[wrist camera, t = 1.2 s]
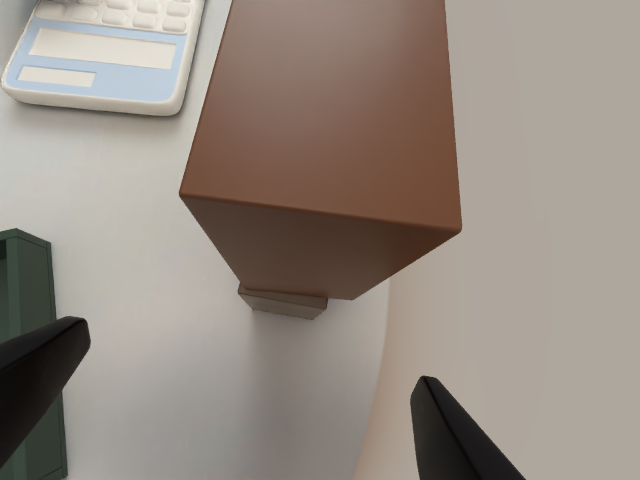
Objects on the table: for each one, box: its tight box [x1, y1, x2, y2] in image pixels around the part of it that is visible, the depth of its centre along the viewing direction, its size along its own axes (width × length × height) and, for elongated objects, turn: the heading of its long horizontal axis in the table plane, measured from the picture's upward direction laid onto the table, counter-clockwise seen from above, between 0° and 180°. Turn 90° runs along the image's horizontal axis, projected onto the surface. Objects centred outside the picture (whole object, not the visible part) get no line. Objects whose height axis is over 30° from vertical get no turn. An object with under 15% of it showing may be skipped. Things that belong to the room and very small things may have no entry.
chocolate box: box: [179, 0, 462, 300], centre depth 12 cm, size 11×6×10 cm, turn 175°
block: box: [238, 282, 328, 320], centre depth 20 cm, size 9×4×7 cm, turn 171°
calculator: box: [1, 0, 205, 116], centre depth 27 cm, size 13×20×2 cm, turn 179°
